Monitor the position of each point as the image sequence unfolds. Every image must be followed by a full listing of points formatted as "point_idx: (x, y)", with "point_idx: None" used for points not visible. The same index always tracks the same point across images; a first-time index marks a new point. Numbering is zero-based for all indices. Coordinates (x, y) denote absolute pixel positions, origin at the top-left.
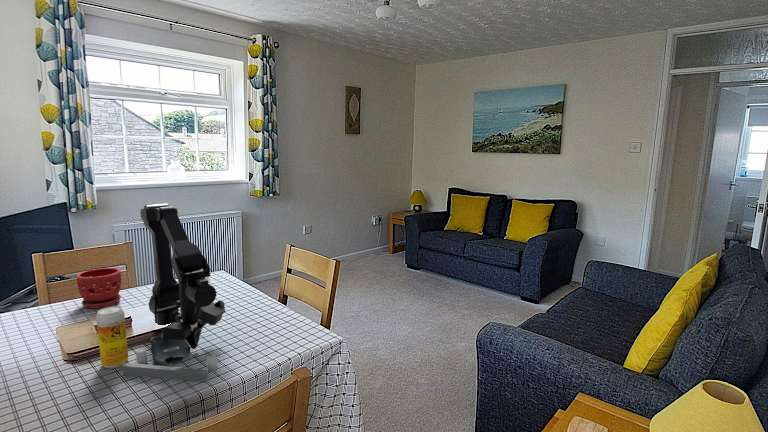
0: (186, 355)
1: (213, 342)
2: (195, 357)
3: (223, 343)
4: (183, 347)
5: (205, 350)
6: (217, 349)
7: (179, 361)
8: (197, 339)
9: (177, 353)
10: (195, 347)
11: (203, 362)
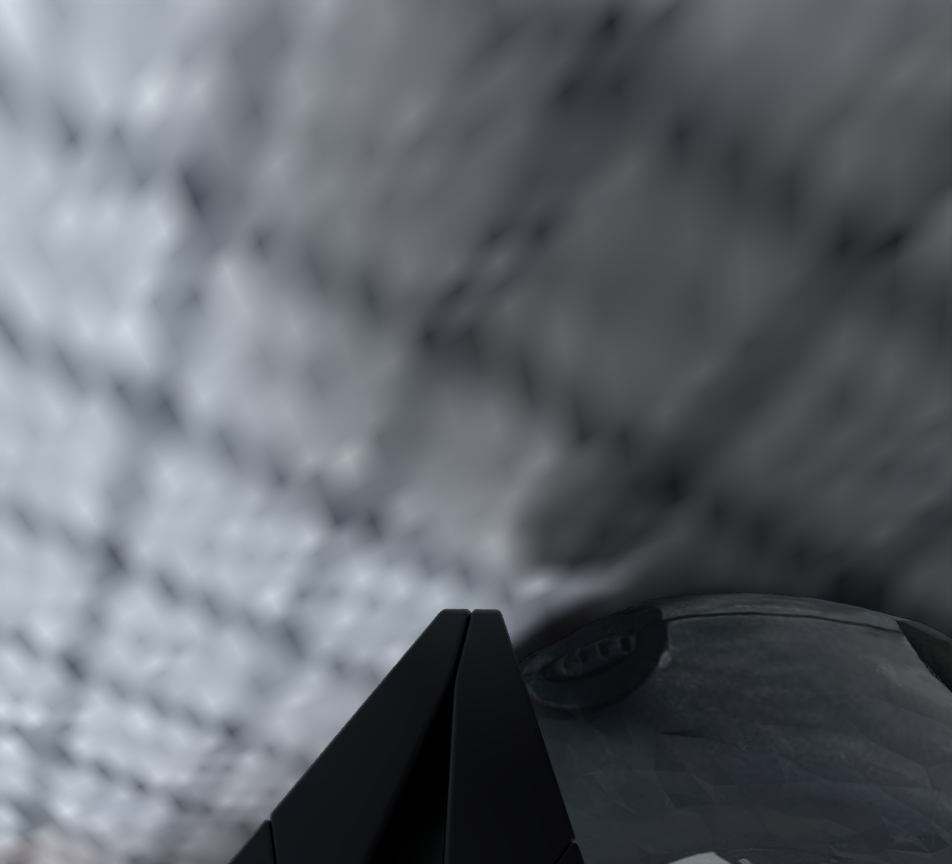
0: (810, 625)
1: (98, 460)
2: (684, 464)
3: (10, 249)
4: (661, 808)
5: (390, 435)
6: (263, 215)
7: (923, 631)
8: (412, 763)
9: (936, 805)
10: (500, 624)
11: (919, 155)
